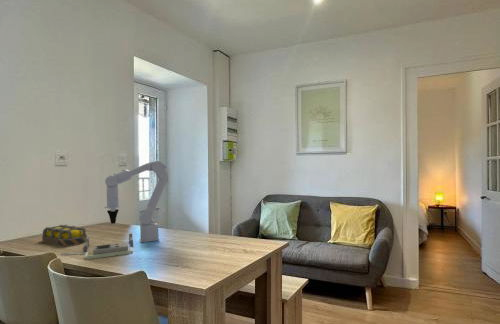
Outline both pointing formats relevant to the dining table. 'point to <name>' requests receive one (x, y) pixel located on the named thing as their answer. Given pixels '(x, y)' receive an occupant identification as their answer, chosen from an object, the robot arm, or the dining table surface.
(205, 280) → the dining table surface
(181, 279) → the dining table surface
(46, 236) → the cage light
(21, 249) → the dining table surface
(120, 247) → the handheld gaming device
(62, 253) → the stay bar
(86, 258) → the bay
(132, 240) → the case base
